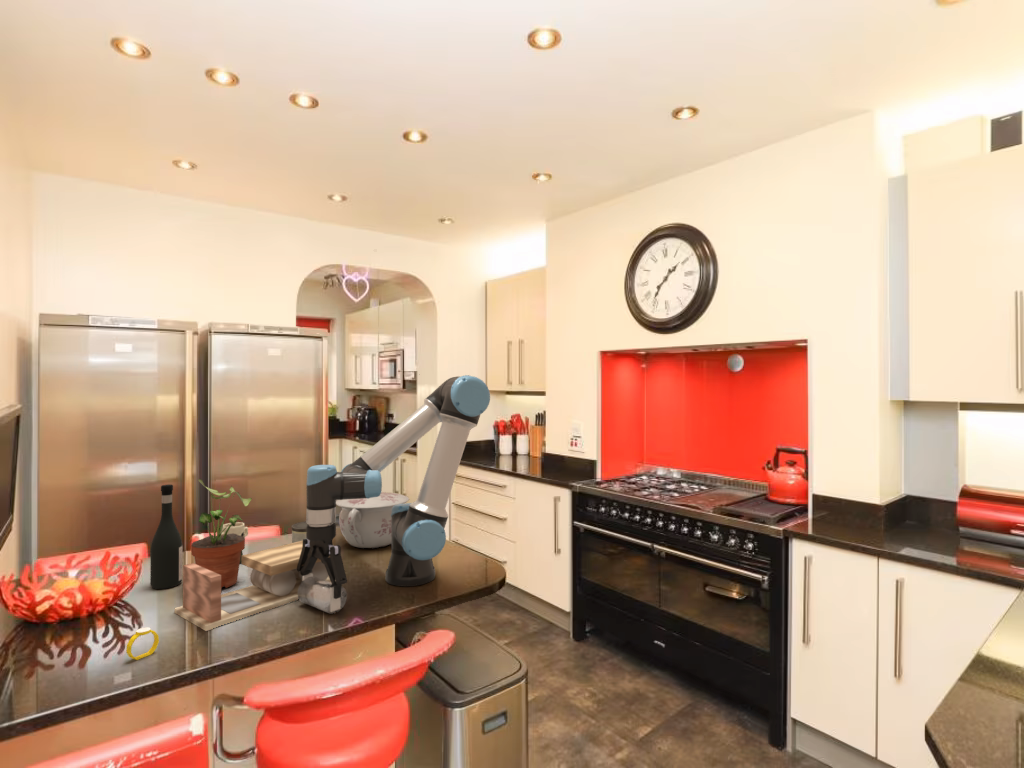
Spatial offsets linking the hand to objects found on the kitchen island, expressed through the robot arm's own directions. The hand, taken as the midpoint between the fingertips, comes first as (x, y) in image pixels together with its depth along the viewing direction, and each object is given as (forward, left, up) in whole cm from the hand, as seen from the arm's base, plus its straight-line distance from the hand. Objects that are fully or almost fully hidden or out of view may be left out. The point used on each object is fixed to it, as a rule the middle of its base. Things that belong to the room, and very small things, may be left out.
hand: (320, 604), depth 145 cm
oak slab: (+19, -2, +8) cm, 21 cm away
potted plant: (+39, +8, -1) cm, 40 cm away
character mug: (+57, -4, -1) cm, 57 cm away
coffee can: (+33, -17, -1) cm, 37 cm away
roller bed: (+19, +6, -1) cm, 20 cm away
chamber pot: (+38, -47, -1) cm, 60 cm away
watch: (+8, +39, -1) cm, 40 cm away
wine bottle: (+52, +18, -1) cm, 55 cm away
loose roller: (0, 0, -1) cm, 1 cm away
